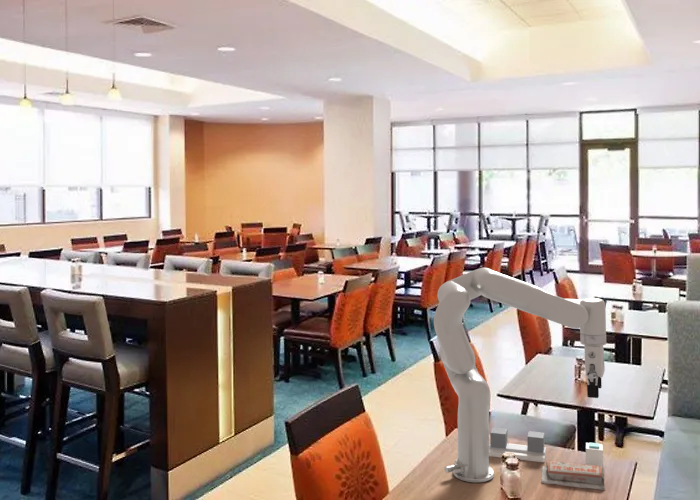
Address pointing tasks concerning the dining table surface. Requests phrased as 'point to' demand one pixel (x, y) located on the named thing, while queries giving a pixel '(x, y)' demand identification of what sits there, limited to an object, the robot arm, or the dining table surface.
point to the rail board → (518, 446)
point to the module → (594, 454)
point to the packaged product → (573, 475)
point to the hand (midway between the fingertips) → (594, 392)
